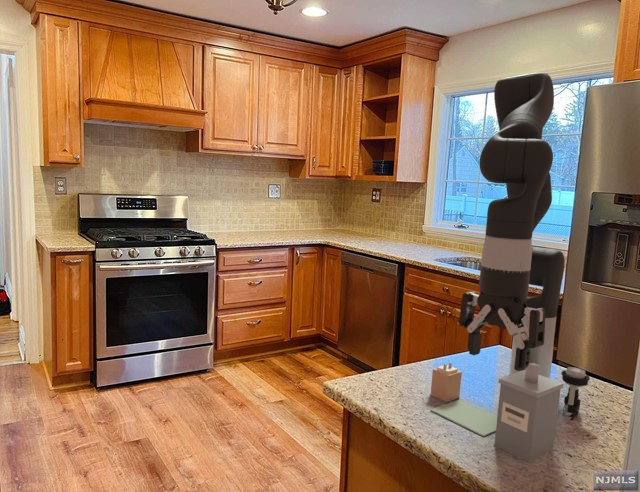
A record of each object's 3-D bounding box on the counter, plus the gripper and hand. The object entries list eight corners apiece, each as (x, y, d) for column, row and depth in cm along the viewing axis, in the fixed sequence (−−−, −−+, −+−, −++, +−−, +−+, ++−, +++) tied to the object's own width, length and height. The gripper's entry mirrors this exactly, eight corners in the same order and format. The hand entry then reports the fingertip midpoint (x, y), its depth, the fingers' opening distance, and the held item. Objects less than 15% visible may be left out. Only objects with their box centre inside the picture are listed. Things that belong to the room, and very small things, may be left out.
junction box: (518, 433, 101) (526, 354, 99) (555, 450, 95) (565, 367, 93) (491, 445, 96) (500, 362, 94) (529, 464, 90) (539, 376, 88)
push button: (580, 426, 106) (586, 378, 105) (552, 417, 109) (558, 372, 108) (586, 415, 111) (592, 370, 110) (559, 407, 114) (565, 363, 113)
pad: (460, 400, 115) (460, 399, 115) (513, 424, 105) (513, 422, 105) (430, 410, 109) (430, 409, 109) (483, 436, 99) (483, 435, 99)
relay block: (443, 390, 120) (446, 358, 119) (459, 397, 117) (462, 365, 116) (430, 394, 118) (433, 362, 117) (446, 401, 114) (449, 368, 113)
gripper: (560, 270, 80) (549, 371, 83) (481, 256, 92) (473, 345, 94) (534, 274, 76) (523, 381, 78) (454, 259, 87) (447, 352, 89)
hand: (496, 361), depth 86 cm, fingers open, 8 cm apart
